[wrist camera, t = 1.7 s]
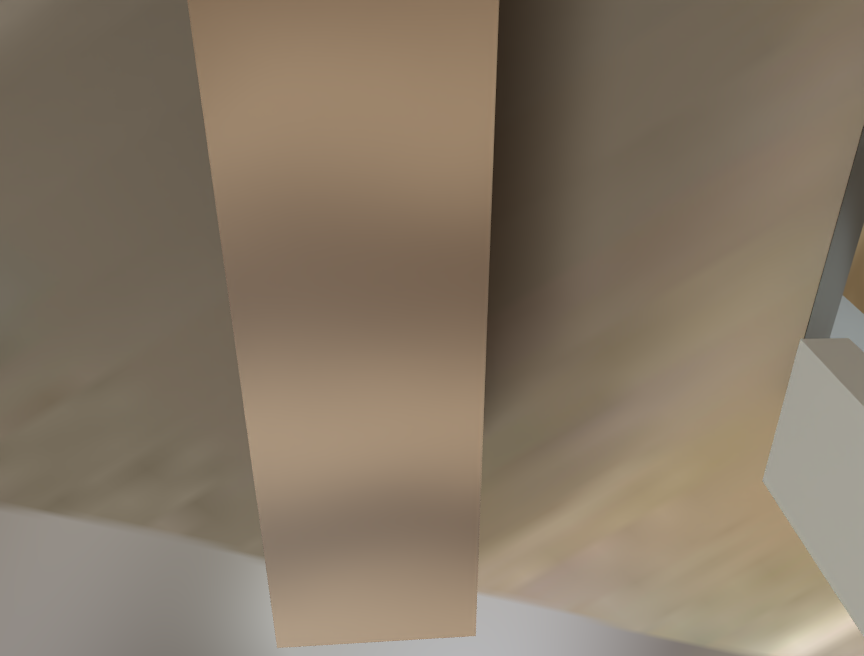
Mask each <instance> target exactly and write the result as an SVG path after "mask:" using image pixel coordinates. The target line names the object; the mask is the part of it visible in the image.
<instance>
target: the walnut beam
mask: <svg viewBox="0 0 864 656" xmlns="http://www.w3.org/2000/svg"><path fill="white" fill-rule="evenodd" d="M187 2H188V9H189V16H190V23H191V30H192V38H193V45H194V52H195V59H196V66H197V74H198V81H199V88H200V95H201V102H202V110H203V117H204V124H205V131H206V138H207V146H208V153H209V160H210V167H211V174H212V182H213V189H214V196H215V203H216V210H217V218H218V225H219V232H220V239H221V246H222V254H223V261H224V268H225V275H226V282H227V290H228V297H229V304H230V311H231V318H232V326H233V333H234V340H235V347H236V354H237V362H238V369H239V376H240V383H241V390H242V398H243V405H244V412H245V419H246V426H247V434H248V441H249V448H250V455H251V462H252V470H253V477H254V484H255V491H256V498H257V505H258V513H259V520H260V527H261V534H262V541H263V549H264V556H265V563H266V570H267V577H268V585H269V592H270V598H271V606H272V613H273V620H274V628H275V635H276V642H277V648H281V647H282V648H283V647H300V646H316V645H333V644H349V643H366V642H381V641H382V642H383V641H399V640H415V639H432V638H449V637H465V636H475V634H476V609H477V582H478V555H479V528H480V501H481V475H482V448H483V421H484V394H485V367H486V340H487V313H488V286H489V260H490V233H491V206H492V179H493V152H494V125H495V98H496V71H497V45H498V18H499V0H187Z"/></svg>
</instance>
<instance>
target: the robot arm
mask: <svg viewBox="0 0 864 656" xmlns="http://www.w3.org/2000/svg"><path fill="white" fill-rule="evenodd" d="M763 482H764V484H765V485H766V487H767V489H768V490H769V492H770V493H771V495H772V496H773V498H774V499H775V501H776V502H777V504H778V506H779V507H780V509H781V510H782V512H783V513H784V515H785V516H786V518H787V519H788V521H789V522H790V524H791V526H792V527H793V529H794V530H795V532H796V533H797V535H798V536H799V538H800V539H801V541H802V542H803V544H804V546H805V547H806V549H807V550H808V552H809V553H810V555H811V556H812V558H813V559H814V561H815V563H816V564H817V566H818V567H819V569H820V570H821V572H822V573H823V575H824V576H825V578H826V579H827V581H828V583H829V584H830V586H831V587H832V589H833V590H834V592H835V593H836V595H837V596H838V598H839V600H840V601H841V603H842V604H843V606H844V607H845V609H846V610H847V612H848V613H849V615H850V616H851V618H852V620H853V621H854V623H855V624H856V626H857V627H858V629H859V630H860V632H861V633H862V635H863V636H864V352H863V351H862V350H861V349H860V348H859V347H858V346H857V345H855V344H854V343H853V342H852V341H851V340H850V339H849V338H823V339H800V342H799V346H798V350H797V354H796V357H795V361H794V365H793V369H792V372H791V376H790V380H789V384H788V387H787V391H786V395H785V399H784V402H783V406H782V410H781V414H780V417H779V421H778V425H777V429H776V432H775V436H774V440H773V444H772V447H771V451H770V455H769V458H768V462H767V466H766V470H765V473H764V477H763Z"/></svg>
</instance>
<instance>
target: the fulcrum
mask: <svg viewBox="0 0 864 656" xmlns="http://www.w3.org/2000/svg"><path fill="white" fill-rule="evenodd" d="M823 338H849V339H850V340H851V341H852V342H853V343H854V344H855V345H857V346H858V347H859V348H860V349H861V350H862V351H863V352H864V128H863V132H862V135H861V139H860V142H859V146H858V149H857V153H856V157H855V160H854V164H853V167H852V171H851V174H850V178H849V182H848V185H847V189H846V192H845V196H844V199H843V203H842V207H841V210H840V214H839V217H838V221H837V224H836V228H835V232H834V235H833V239H832V242H831V246H830V249H829V253H828V256H827V260H826V264H825V267H824V271H823V274H822V278H821V281H820V285H819V289H818V292H817V296H816V299H815V303H814V306H813V310H812V314H811V317H810V321H809V324H808V328H807V331H806V335H805V339H823Z"/></svg>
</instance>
